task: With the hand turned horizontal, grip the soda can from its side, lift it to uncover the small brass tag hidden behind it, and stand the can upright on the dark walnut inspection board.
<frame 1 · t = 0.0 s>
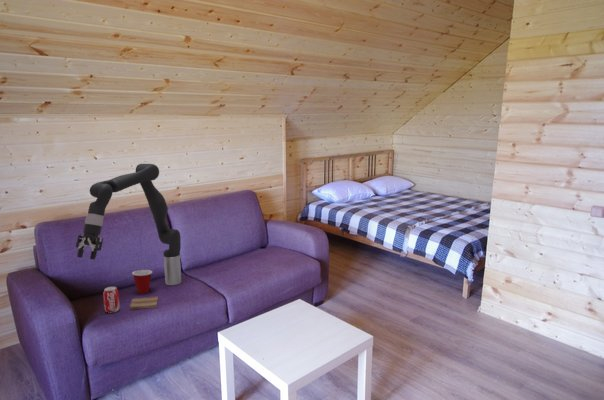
hand: (85, 258, 193), 31 cm above the table, tool tilted 20°, fingers open, 8 cm apart
plastic cup: (143, 292, 235), on the table
soda can: (112, 311, 210), on the table
brass tag: (110, 306, 215), on the table
inspection board: (144, 304, 218), on the table
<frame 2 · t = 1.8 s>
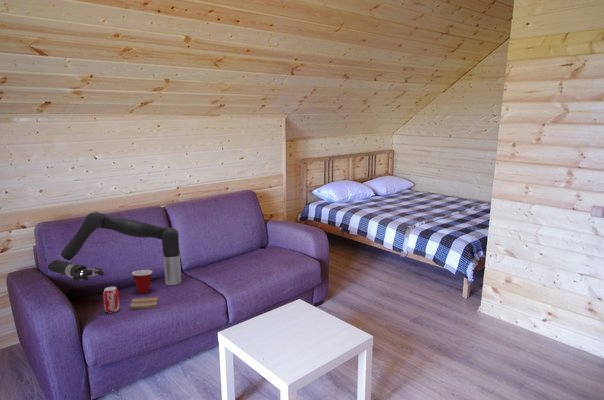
hand: (95, 276, 213), 17 cm above the table, tool horizontal, fingers open, 8 cm apart
nothing on the table moved.
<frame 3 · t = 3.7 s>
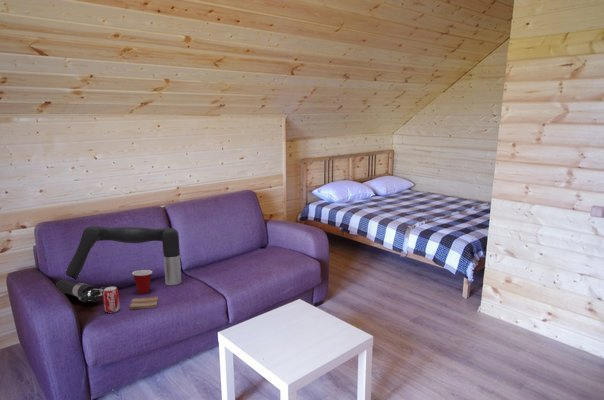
hand: (103, 296, 212), 6 cm above the table, tool horizontal, fingers open, 8 cm apart
nothing on the table moved.
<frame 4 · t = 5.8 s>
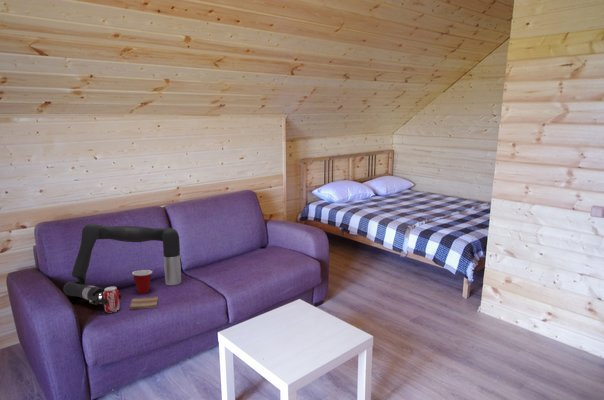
hand: (114, 299, 208), 7 cm above the table, tool horizontal, fingers closed on soda can, 7 cm apart
soda can: (112, 311, 210), on the table, touching gripper
everything else where it was.
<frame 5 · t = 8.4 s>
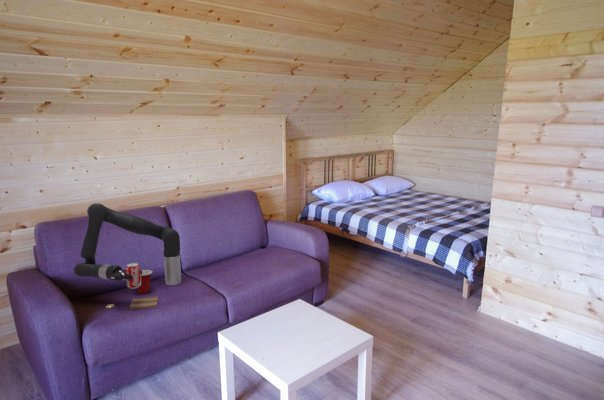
hand: (136, 275, 212), 17 cm above the table, tool horizontal, fingers closed on soda can, 7 cm apart
soda can: (134, 287, 214), point 10 cm above the table, touching gripper
everything else where it was.
when the fingers open (9 cm above the table, at t = 11.0 s): soda can drops 1 cm, resting on inspection board.
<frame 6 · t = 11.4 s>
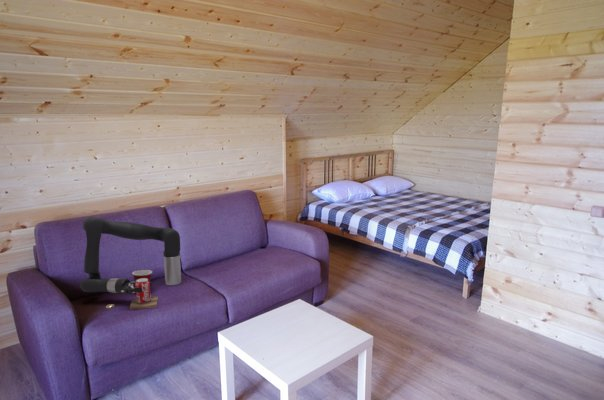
hand: (146, 287, 216), 10 cm above the table, tool horizontal, fingers open, 8 cm apart
soda can: (143, 302, 218), point 1 cm above the table, touching inspection board
everything else where it was.
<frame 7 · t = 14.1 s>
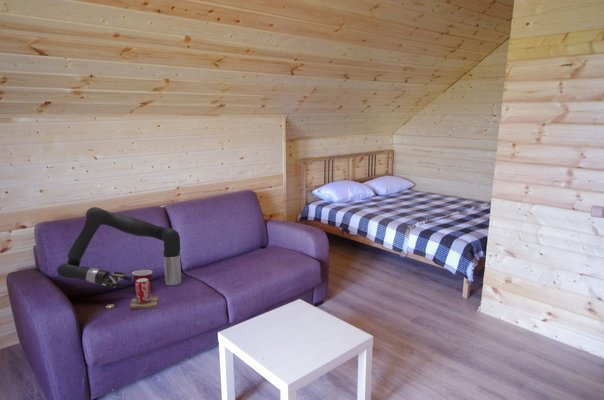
hand: (127, 282, 219), 11 cm above the table, tool horizontal, fingers open, 8 cm apart
nothing on the table moved.
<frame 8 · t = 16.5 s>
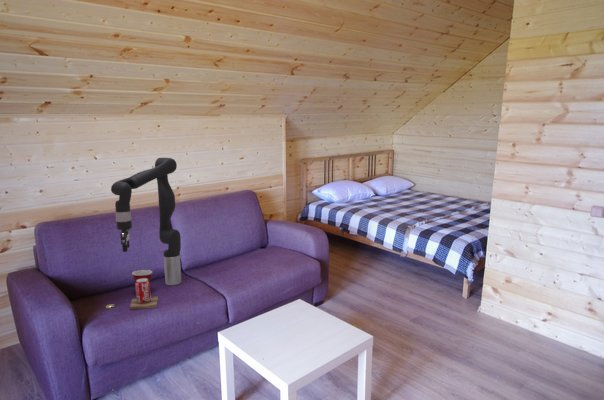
hand: (126, 249, 220), 28 cm above the table, tool pointing down, fingers open, 8 cm apart
nothing on the table moved.
at the end: soda can inside the target area on the inspection board (0.2 cm from its centre), point 1.3 cm above the inspection board's base; soda can tilted 0°; the gripper is holding nothing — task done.
